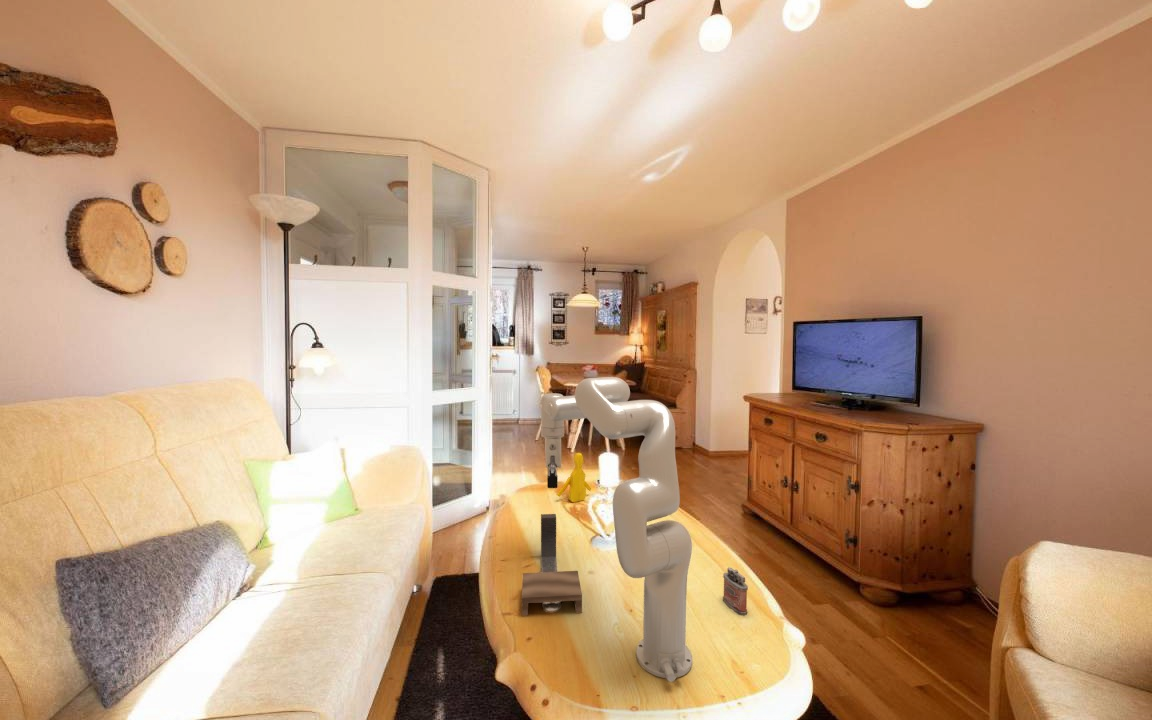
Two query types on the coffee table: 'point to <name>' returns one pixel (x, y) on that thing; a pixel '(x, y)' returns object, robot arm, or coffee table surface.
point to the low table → (551, 588)
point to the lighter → (735, 591)
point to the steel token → (551, 606)
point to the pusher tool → (548, 543)
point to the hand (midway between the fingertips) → (552, 482)
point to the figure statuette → (576, 481)
